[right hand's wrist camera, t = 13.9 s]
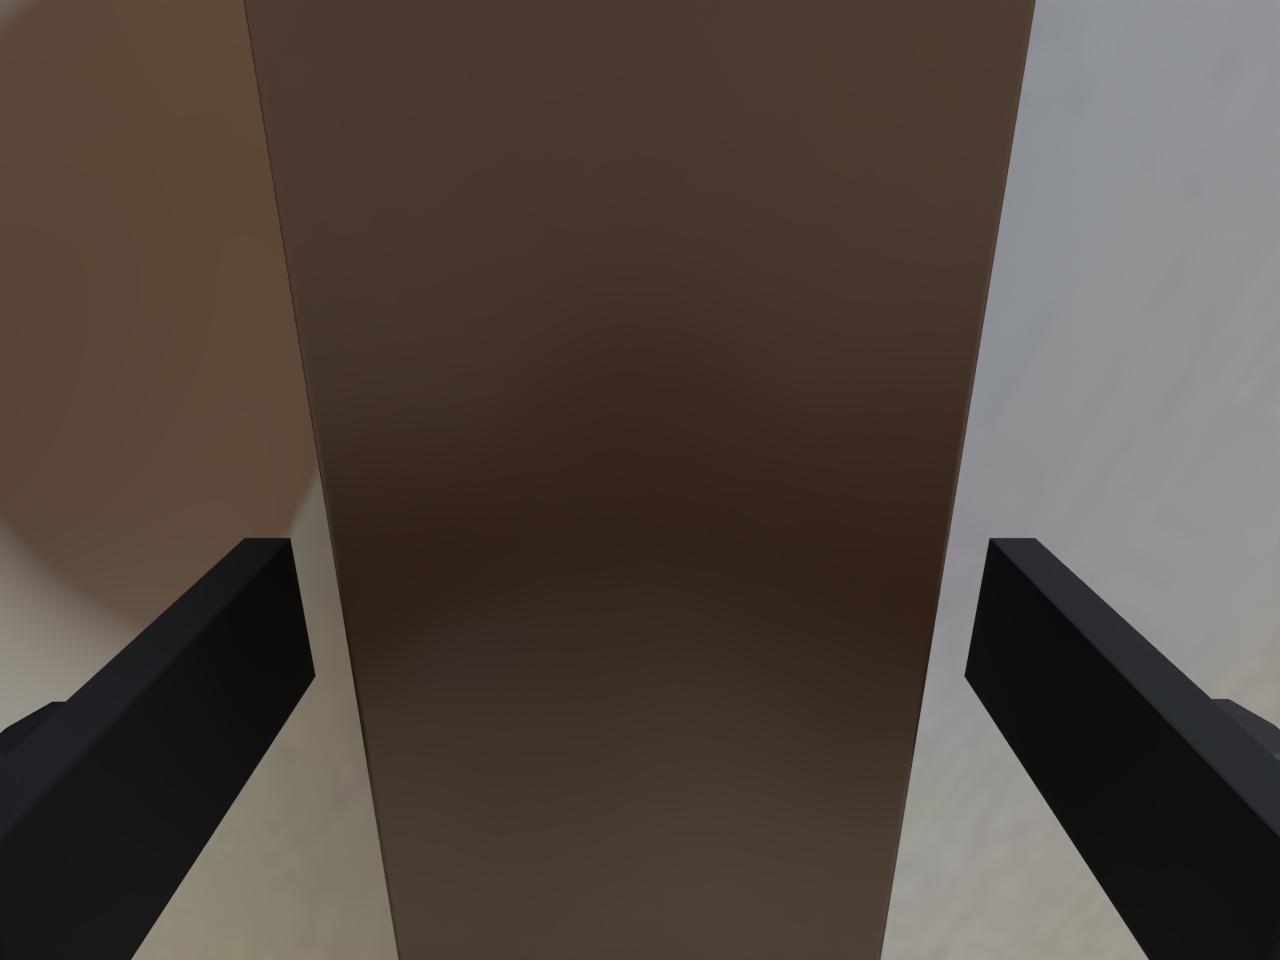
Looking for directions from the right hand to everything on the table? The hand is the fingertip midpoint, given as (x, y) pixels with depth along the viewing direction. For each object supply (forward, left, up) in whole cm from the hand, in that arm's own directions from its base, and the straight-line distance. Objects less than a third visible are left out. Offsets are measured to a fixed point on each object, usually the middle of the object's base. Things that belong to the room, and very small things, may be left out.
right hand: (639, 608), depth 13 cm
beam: (+10, +8, -3) cm, 13 cm away
